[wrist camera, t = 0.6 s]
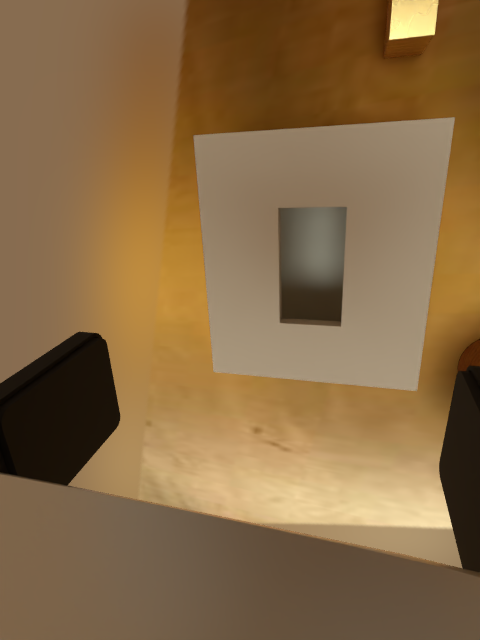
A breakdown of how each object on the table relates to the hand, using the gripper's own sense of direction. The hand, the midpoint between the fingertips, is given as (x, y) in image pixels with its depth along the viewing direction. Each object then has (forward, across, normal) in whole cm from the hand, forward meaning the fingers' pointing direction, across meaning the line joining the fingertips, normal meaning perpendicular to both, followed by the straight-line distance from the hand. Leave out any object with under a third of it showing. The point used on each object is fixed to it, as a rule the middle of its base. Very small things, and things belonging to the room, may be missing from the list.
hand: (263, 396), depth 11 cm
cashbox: (+26, 0, +1) cm, 26 cm away
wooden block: (+26, -4, -14) cm, 30 cm away
